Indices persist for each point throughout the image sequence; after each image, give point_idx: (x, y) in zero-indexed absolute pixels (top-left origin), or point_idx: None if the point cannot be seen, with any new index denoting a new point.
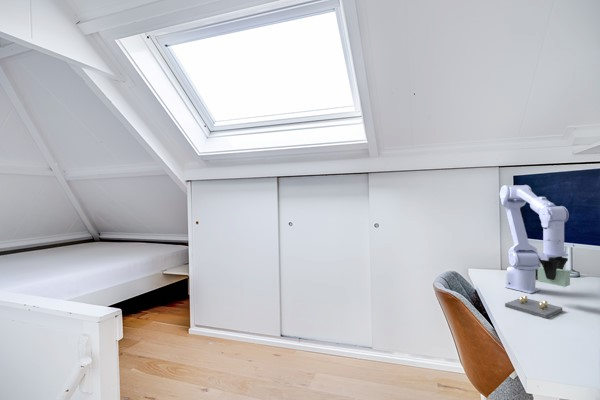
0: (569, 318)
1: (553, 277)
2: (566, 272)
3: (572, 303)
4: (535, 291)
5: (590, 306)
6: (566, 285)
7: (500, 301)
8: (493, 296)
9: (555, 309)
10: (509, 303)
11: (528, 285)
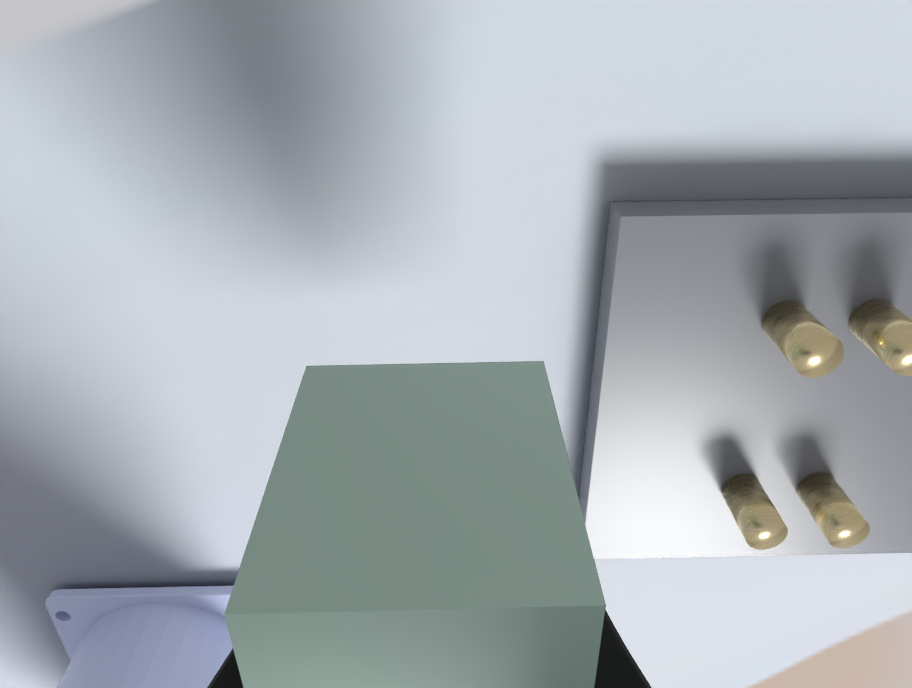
0: (858, 43)
1: None
2: (496, 591)
3: (177, 251)
4: (162, 589)
5: (73, 79)
6: (475, 371)
7: (769, 600)
8: (661, 674)
9: (780, 229)
10: (907, 534)
11: (214, 674)
